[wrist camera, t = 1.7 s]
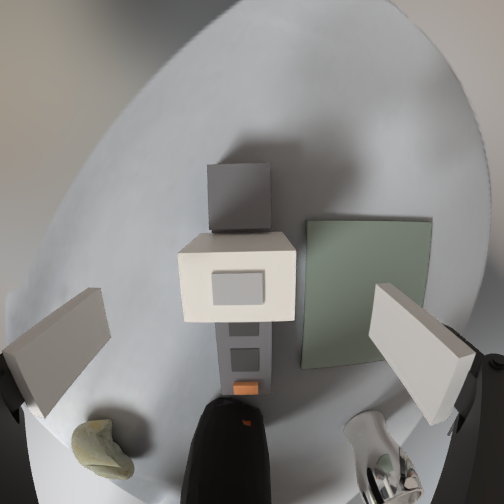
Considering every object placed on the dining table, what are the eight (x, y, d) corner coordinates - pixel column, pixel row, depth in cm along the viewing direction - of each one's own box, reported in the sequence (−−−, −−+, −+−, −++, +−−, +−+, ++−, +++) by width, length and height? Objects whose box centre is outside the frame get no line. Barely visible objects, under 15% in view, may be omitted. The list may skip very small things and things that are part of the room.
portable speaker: (232, 381, 30) (220, 532, 11) (280, 421, 31) (296, 551, 13) (183, 410, 31) (150, 538, 12) (232, 445, 33) (225, 562, 14)
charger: (281, 281, 25) (294, 321, 17) (203, 283, 25) (183, 323, 17) (281, 231, 24) (296, 251, 16) (200, 233, 24) (176, 253, 16)
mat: (409, 352, 30) (411, 354, 29) (300, 366, 30) (301, 369, 29) (429, 221, 26) (431, 222, 26) (306, 220, 26) (307, 221, 26)
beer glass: (390, 403, 31) (434, 480, 17) (380, 434, 33) (413, 507, 18) (343, 413, 31) (376, 502, 17) (337, 443, 33) (361, 524, 18)
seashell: (135, 497, 27) (78, 484, 26) (141, 464, 35) (89, 454, 34) (115, 447, 26) (51, 431, 24) (128, 412, 34) (70, 402, 32)
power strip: (269, 375, 30) (271, 398, 26) (224, 375, 30) (221, 398, 26) (267, 166, 25) (270, 162, 21) (213, 168, 25) (205, 164, 21)
